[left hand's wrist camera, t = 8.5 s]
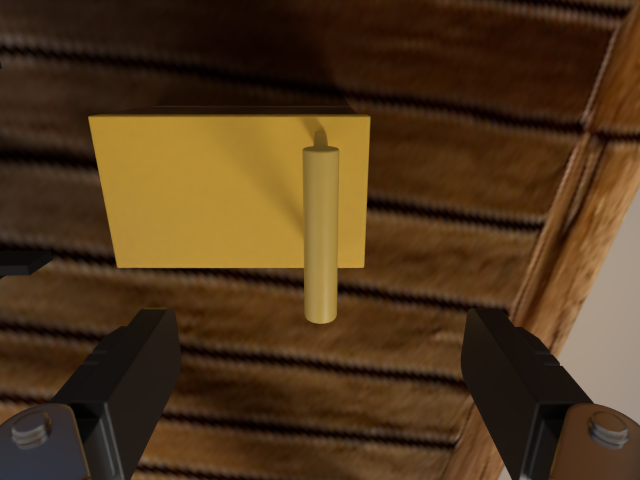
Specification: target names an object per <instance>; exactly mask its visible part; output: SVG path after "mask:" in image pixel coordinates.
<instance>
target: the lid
mask: <svg viewBox="0 0 640 480" xmlns="http://www.w3.org/2000/svg"><path fill="white" fill-rule="evenodd" d="M88 119H89V124H90V129H91V134H92V139H93V145H94V150H95V155H96V160H97V165H98V170H99V176H100V181H101V186H102V191H103V196H104V201H105V206H106V212H107V217H108V222H109V227H110V232H111V237H112V242H113V248H114V253H115V258H116V263H117V267H118V268H304V293H305V317H306V318H307V319H308V320H309V321H311V322H313V323H328V322H331V321H333V320H334V319H335V318H336V315H337V268H363V267H364V255H365V231H366V208H367V184H368V160H369V137H370V116H369V115H93V116H89V117H88Z"/></svg>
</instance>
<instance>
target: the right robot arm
mask: <svg viewBox="0 0 640 480" xmlns="http://www.w3.org/2000/svg"><path fill="white" fill-rule="evenodd" d="M0 69H2V67H1V63H0ZM52 260H53V259H52V255H51V251H0V279H1V278H3V277H4V276H6V275H31V274H32V273H34V272H35V271H37V270H38V269H40V268H41V267H43V266H44V265H46V264H47V263H49V262H50V261H52Z"/></svg>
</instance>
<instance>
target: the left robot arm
mask: <svg viewBox="0 0 640 480" xmlns="http://www.w3.org/2000/svg"><path fill="white" fill-rule="evenodd" d="M180 370H181V351H180V344H179V338H178V331H177V324H176V317H175V313H174V310H173V309H172V308H142V309H141V310H140V311H139V312H138V314H137V315H136V316H135V317H134V319H133V320H132V321H131V323H130V324H129V325H128V326H121V327H119V328H118V329H116V330H115V331H113V332H112V333H110V334H109V335H107V336H106V337H104V338H103V339H102V340H101V342H100V343H99V344H98V345H97V346H96V347H95V349H94V350H93V353H92V354H90V355H89V356H88V357H87V358H86V359H85V361H84V362H83V365H80V366H79V368H78V369H77V370H76V371H75V372H74V374H73V375H72V376H71V377H70V378H69V380H68V381H67V382H66V383H65V384H64V385H63V387H62V388H61V389H60V390H59V391H58V393H57V394H56V395H55V396H54V397H53V399H52V400H51V401H50V402H49V403H48V404H42V405H38V406H34V407H31V408H29V409H26V410H24V411H22V412H20V413H18V414H16V415H14V416H12V417H11V418H9V419H8V420H6V421H5V422H4V423H2V424H1V425H0V480H130V479H131V477H132V475H133V473H134V471H135V469H136V467H137V465H138V462H139V460H140V458H141V456H142V454H143V452H144V450H145V448H146V446H147V443H148V441H149V439H150V437H151V435H152V433H153V431H154V429H155V427H156V425H157V422H158V420H159V418H160V416H161V414H162V412H163V410H164V408H165V406H166V404H167V401H168V399H169V397H170V395H171V393H172V391H173V389H174V387H175V385H176V383H177V380H178V378H179V375H180ZM461 370H462V375H463V378H464V381H465V383H466V385H467V387H468V389H469V391H470V393H471V395H472V398H473V400H474V402H475V404H476V406H477V408H478V410H479V412H480V414H481V416H482V418H483V420H484V422H485V425H486V427H487V429H488V431H489V433H490V435H491V437H492V439H493V441H494V443H495V445H496V447H497V449H498V452H499V454H500V456H501V458H502V460H503V462H504V464H505V466H506V468H507V470H508V472H509V474H510V476H511V479H512V480H640V425H639V424H637V423H636V422H635V421H634V420H632V419H631V418H629V417H628V416H626V415H624V414H622V413H620V412H618V411H616V410H614V409H611V408H609V407H605V406H602V405H598V404H594V403H593V402H592V400H591V399H590V398H589V397H588V396H587V395H586V393H585V392H584V391H583V390H582V389H581V387H580V386H579V385H578V384H577V383H576V382H575V380H574V379H573V378H572V377H571V376H570V374H569V373H568V372H567V371H566V370H565V369H564V367H563V366H560V363H559V362H558V360H557V359H556V358H555V357H554V356H553V355H551V354H550V351H549V350H548V349H547V347H546V346H545V345H544V344H543V343H542V342H541V340H540V339H539V338H537V337H536V336H534V335H533V334H531V333H530V332H528V331H527V330H525V329H524V328H522V327H515V326H514V325H513V324H512V323H511V321H510V320H509V319H508V318H507V316H506V315H505V314H504V312H503V311H502V310H501V309H470V310H469V312H468V314H467V319H466V326H465V333H464V339H463V346H462V353H461Z"/></svg>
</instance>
